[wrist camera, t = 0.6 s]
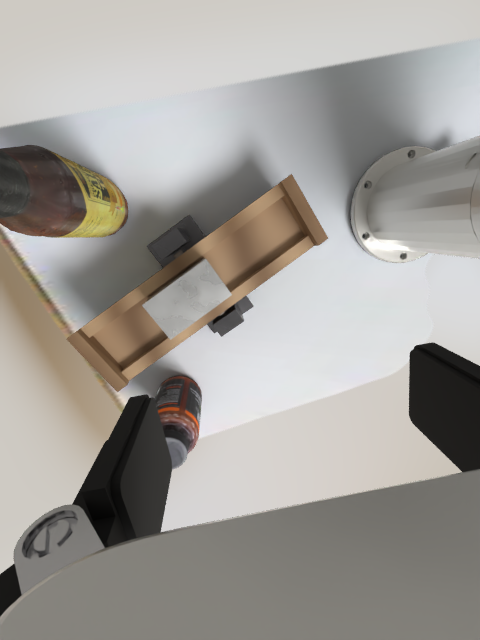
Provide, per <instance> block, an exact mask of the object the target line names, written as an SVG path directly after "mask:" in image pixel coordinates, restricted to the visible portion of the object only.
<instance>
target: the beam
mask: <svg viewBox="0 0 480 640" xmlns="http://www.w3.org/2000/svg"><path fill="white" fill-rule="evenodd" d="M327 239H328V237H327V235H326V234H325V232H324V230H323V228H322V227H321V225H320V223H319V221H318V219H317V218H316V216H315V214H314V212H313V211H312V209H311V207H310V205H309V204H308V202H307V200H306V198H305V197H304V195H303V193H302V191H301V190H300V188H299V186H298V184H297V183H296V181H295V179H294V177H293V175H292V174H291V175H290V176H288V177H287V178H286V179H284V180H283V181H282V182H280V183H279V184H278V185H276V186H275V187H273V188H272V189H271V190H269V191H268V192H267V193H265V194H264V195H262V196H261V197H260V198H258V199H257V200H256V201H254V202H253V203H252V204H250V205H249V206H247V207H246V208H245V209H243V210H242V211H241V212H239V213H238V214H237V215H235V216H234V217H232V218H231V219H230V220H228V221H227V222H226V223H224V224H223V225H221V226H220V227H219V228H217V229H216V230H215V231H213V232H212V233H211V234H209V235H208V236H206V237H205V238H204V239H202V240H201V241H200V242H198V243H197V244H195V245H194V246H193V247H191V248H190V249H189V250H187V251H186V252H185V253H183V252H182V250H180V251H179V252H178V253H176V254H175V255H174V257H175V260H174V261H172V262H171V263H169V264H168V265H167V266H165V267H164V268H163V269H161V270H160V271H159V272H157V273H156V274H154V275H153V276H152V277H150V278H149V279H148V280H146V281H145V282H144V283H142V284H141V285H139V286H138V287H137V288H135V289H134V290H133V291H131V292H130V293H128V294H127V295H126V296H124V297H123V298H122V299H120V300H119V301H118V302H116V303H115V304H113V305H112V306H111V307H109V308H108V309H107V310H105V311H104V312H102V313H101V314H100V315H98V316H97V317H96V318H94V319H93V320H92V321H90V322H89V323H87V324H86V325H85V326H83V327H82V328H81V329H79V330H78V331H76V332H75V333H74V334H72V335H71V336H70V337H68V338H67V340H68V341H69V342H70V343H71V344H72V345H73V346H74V348H75V349H76V350H77V351H78V352H79V353H80V354H81V355H82V356H83V357H84V358H85V359H86V360H87V361H88V362H89V363H90V364H91V365H92V366H93V367H94V368H95V369H96V370H97V371H98V372H99V373H100V374H101V376H102V377H103V378H104V379H105V380H106V381H107V382H108V383H109V384H110V385H111V386H112V387H113V388H114V389H115V390H116V391H117V392H118V391H120V390H121V389H122V388H124V387H125V386H126V385H127V384H128V382H129V380H131V379H132V378H134V377H135V376H136V375H138V374H139V373H140V372H142V371H143V370H144V369H146V368H147V367H149V366H150V365H151V364H153V363H154V362H155V361H157V360H158V359H160V358H161V357H162V356H164V355H165V354H166V353H168V352H169V351H171V350H172V349H173V348H175V347H176V346H177V345H179V344H180V343H182V342H183V341H184V340H186V339H187V338H188V337H190V336H191V335H192V334H194V333H195V332H197V331H198V330H199V329H201V328H202V327H203V326H205V325H206V324H208V323H209V322H210V321H212V320H213V319H214V318H216V317H217V316H220V315H222V314H223V313H225V312H226V310H227V309H228V308H230V307H231V306H232V305H234V304H235V303H236V302H238V301H239V300H240V299H242V298H243V297H245V296H246V295H247V294H249V293H250V292H251V291H253V290H254V289H256V288H257V287H258V286H260V285H261V284H262V283H264V282H265V281H267V280H268V279H269V278H271V277H272V276H273V275H275V274H276V273H277V272H279V271H280V270H282V269H283V268H284V267H286V266H287V265H288V264H290V263H291V262H293V261H294V260H295V259H297V258H298V257H299V256H301V255H302V254H304V253H305V252H306V251H308V250H309V249H310V248H312V247H313V246H317V245H320V244H321V243H322V242H324V241H325V240H327ZM203 258H206V259H207V261H208V262H209V263H210V265H211V266H212V268H213V269H214V270H215V272H216V273H217V275H218V276H219V277H220V279H221V280H222V282H223V283H224V284H225V286H226V287H227V289H228V290H229V291H230V293H231V294H232V295H231V296H230V297H229V298H227V299H226V300H225V301H223V302H222V303H220V304H219V305H218V306H216V307H215V308H214V309H212V310H211V311H209V312H208V313H207V314H205V315H204V316H203V317H201V318H200V319H198V320H197V321H196V322H194V323H193V324H192V325H190V326H189V327H188V328H186V329H185V330H183V331H182V332H181V333H179V334H178V335H177V336H175V337H174V338H172V339H171V340H170V339H169V337H168V336H167V335H166V334H165V333H164V331H163V330H162V329H161V328H160V327H159V325H158V324H157V323H156V322H155V321H154V319H153V318H152V317H151V316H150V315H149V313H148V312H147V311H146V310H145V309H144V307H143V306H142V305H143V304H144V302H145V301H146V300H147V299H148V298H149V297H151V296H152V295H153V294H155V293H156V292H157V291H159V290H160V289H162V288H163V287H164V286H166V285H167V284H168V283H170V282H171V281H173V280H174V279H175V278H177V277H178V276H179V275H181V274H182V273H183V272H185V271H186V270H188V269H189V268H190V267H192V266H193V265H194V264H196V263H197V262H199V261H200V260H201V259H203Z"/></svg>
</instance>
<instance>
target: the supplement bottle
mask: <svg viewBox="0 0 480 640" xmlns="http://www.w3.org/2000/svg"><path fill="white" fill-rule="evenodd" d="M201 397H202V395H201V390H200V388H199V386H198V385H197V383H196V382H194V381H193V380H191V379H189V378H187V377H183V376H176V377H172V378H169V379H167V380H166V381H164V382H163V383H162V384H161V386H160V387H159V389H158V391H157V394H156V397H155V402H156V406H157V409H158V413H159V416H160V420H161V423H162V427H163V431H164V434H165V438H166V441H167V445H168V448H169V452H170V456H171V459H172V469H175V468H177V467H179V466H181V465H182V464H183V463H184V462H185V460H186V458H187V454H188V453H189V452H190V451H191V450H192V449H193V448H194V447H195V445H196V443H197V440H198V436H199V425H200V412H201V401H202V398H201Z"/></svg>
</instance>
